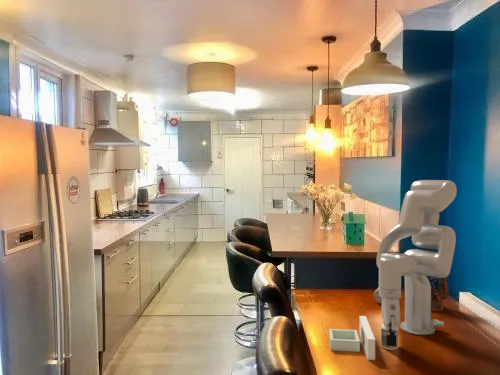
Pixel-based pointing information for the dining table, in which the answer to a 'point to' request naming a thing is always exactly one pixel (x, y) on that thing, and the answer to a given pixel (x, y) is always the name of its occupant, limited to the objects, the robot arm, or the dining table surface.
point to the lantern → (437, 299)
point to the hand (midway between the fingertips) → (389, 341)
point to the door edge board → (367, 337)
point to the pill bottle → (384, 337)
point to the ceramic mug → (377, 296)
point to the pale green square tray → (344, 340)
